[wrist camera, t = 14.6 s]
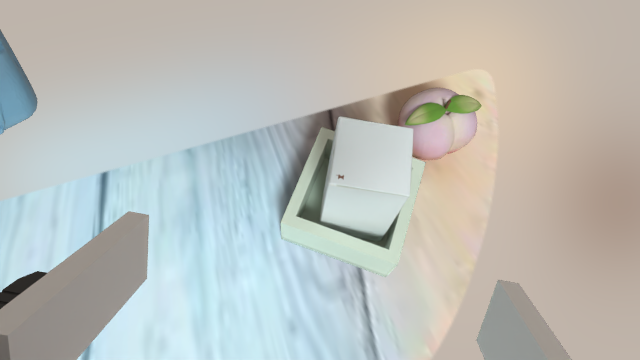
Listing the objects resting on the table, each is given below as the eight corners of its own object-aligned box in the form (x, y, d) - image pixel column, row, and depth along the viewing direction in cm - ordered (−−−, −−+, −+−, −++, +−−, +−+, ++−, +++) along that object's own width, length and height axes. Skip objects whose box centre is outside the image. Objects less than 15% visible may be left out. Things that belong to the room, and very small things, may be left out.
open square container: (281, 239, 47) (280, 222, 42) (318, 150, 52) (321, 126, 47) (385, 277, 45) (397, 265, 41) (412, 183, 51) (425, 162, 46)
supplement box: (381, 243, 46) (411, 199, 35) (316, 232, 46) (325, 184, 35) (387, 184, 49) (416, 127, 38) (326, 174, 49) (337, 113, 38)
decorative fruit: (433, 109, 56) (461, 57, 47) (468, 156, 53) (505, 111, 44) (374, 133, 54) (392, 84, 45) (408, 185, 51) (433, 143, 42)
